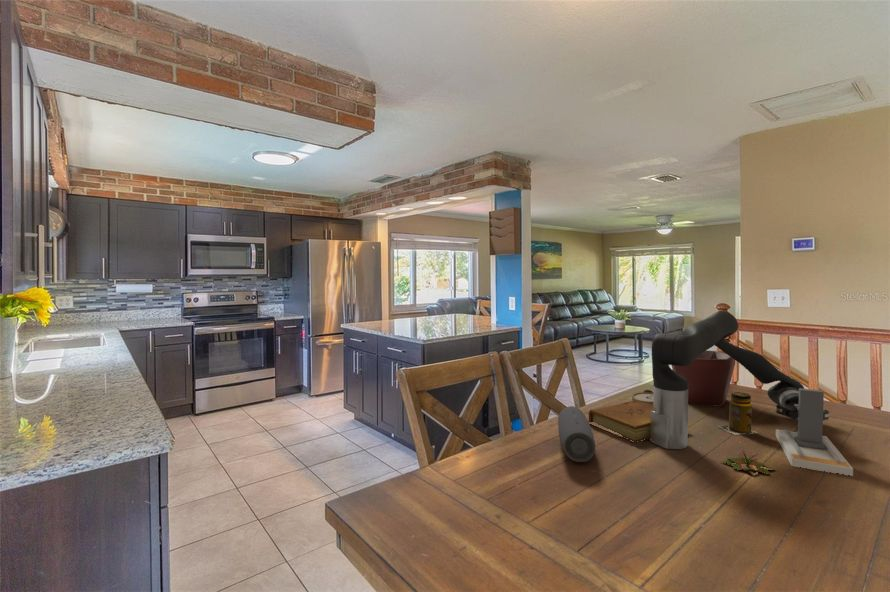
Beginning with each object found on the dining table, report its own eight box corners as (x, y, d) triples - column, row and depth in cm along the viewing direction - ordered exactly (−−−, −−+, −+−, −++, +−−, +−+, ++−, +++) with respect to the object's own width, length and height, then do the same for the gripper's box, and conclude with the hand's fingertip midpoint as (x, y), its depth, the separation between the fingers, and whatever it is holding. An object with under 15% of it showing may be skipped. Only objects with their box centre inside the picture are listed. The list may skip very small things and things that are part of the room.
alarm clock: (625, 397, 167) (646, 384, 175) (626, 408, 167) (648, 395, 175) (652, 404, 157) (674, 390, 165) (653, 416, 158) (675, 402, 166)
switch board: (775, 435, 133) (775, 426, 132) (826, 442, 127) (826, 432, 126) (791, 466, 112) (792, 455, 112) (852, 476, 106) (853, 464, 106)
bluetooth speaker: (597, 468, 112) (598, 431, 112) (561, 465, 114) (561, 429, 114) (586, 436, 135) (587, 405, 134) (556, 434, 136) (556, 403, 136)
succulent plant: (740, 456, 120) (741, 440, 119) (787, 474, 108) (788, 457, 108) (710, 463, 115) (710, 446, 115) (756, 483, 104) (756, 465, 104)
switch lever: (794, 440, 123) (795, 387, 122) (821, 444, 120) (823, 389, 119) (797, 445, 120) (799, 390, 119) (825, 449, 117) (827, 393, 116)
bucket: (736, 397, 173) (738, 336, 172) (740, 412, 155) (741, 345, 153) (669, 389, 186) (670, 333, 185) (664, 402, 168) (665, 340, 166)
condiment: (758, 433, 135) (759, 396, 134) (734, 435, 133) (735, 398, 133) (739, 425, 142) (740, 390, 141) (716, 427, 141) (717, 391, 140)
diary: (634, 415, 156) (634, 399, 155) (682, 431, 139) (683, 414, 139) (588, 425, 145) (588, 408, 145) (635, 444, 129) (635, 425, 128)
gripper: (770, 390, 138) (780, 404, 123) (823, 395, 132) (840, 411, 117) (769, 412, 139) (779, 429, 124) (822, 419, 132) (839, 437, 117)
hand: (809, 420), depth 120 cm, fingers closed
